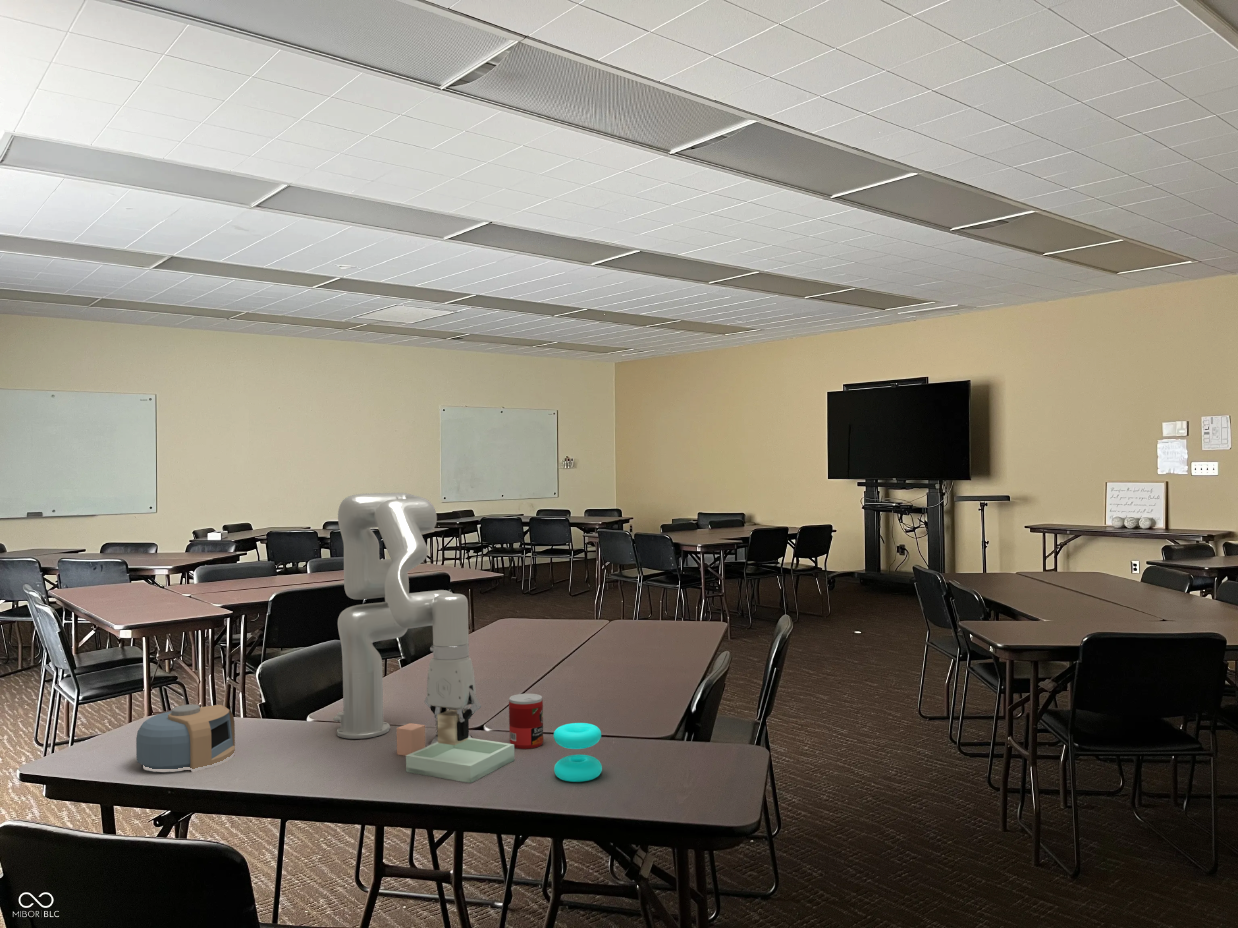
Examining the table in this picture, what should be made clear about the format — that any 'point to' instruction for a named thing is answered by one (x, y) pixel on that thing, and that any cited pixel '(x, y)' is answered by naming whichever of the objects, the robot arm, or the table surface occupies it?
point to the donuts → (578, 765)
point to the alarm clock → (186, 737)
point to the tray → (460, 759)
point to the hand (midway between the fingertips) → (453, 736)
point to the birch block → (448, 727)
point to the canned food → (526, 720)
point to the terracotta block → (410, 738)
